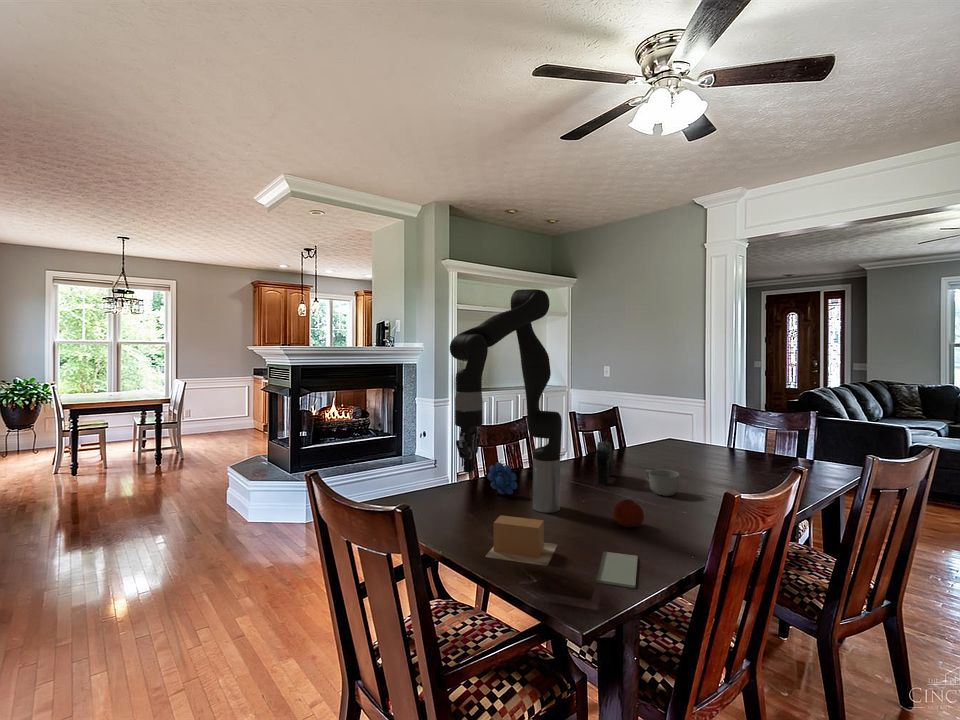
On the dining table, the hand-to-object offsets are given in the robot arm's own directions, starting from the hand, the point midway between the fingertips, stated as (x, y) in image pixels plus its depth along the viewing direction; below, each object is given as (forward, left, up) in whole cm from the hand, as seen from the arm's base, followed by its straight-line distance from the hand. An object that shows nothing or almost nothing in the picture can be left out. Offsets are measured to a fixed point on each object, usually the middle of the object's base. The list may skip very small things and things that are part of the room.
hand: (468, 471), depth 133 cm
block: (0, +14, -20) cm, 24 cm away
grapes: (-50, -6, -21) cm, 55 cm away
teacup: (-73, +50, -21) cm, 91 cm away
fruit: (-32, +40, -21) cm, 55 cm away
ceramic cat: (-85, +28, -21) cm, 92 cm away
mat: (0, +34, -21) cm, 40 cm away
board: (0, +15, -21) cm, 26 cm away
